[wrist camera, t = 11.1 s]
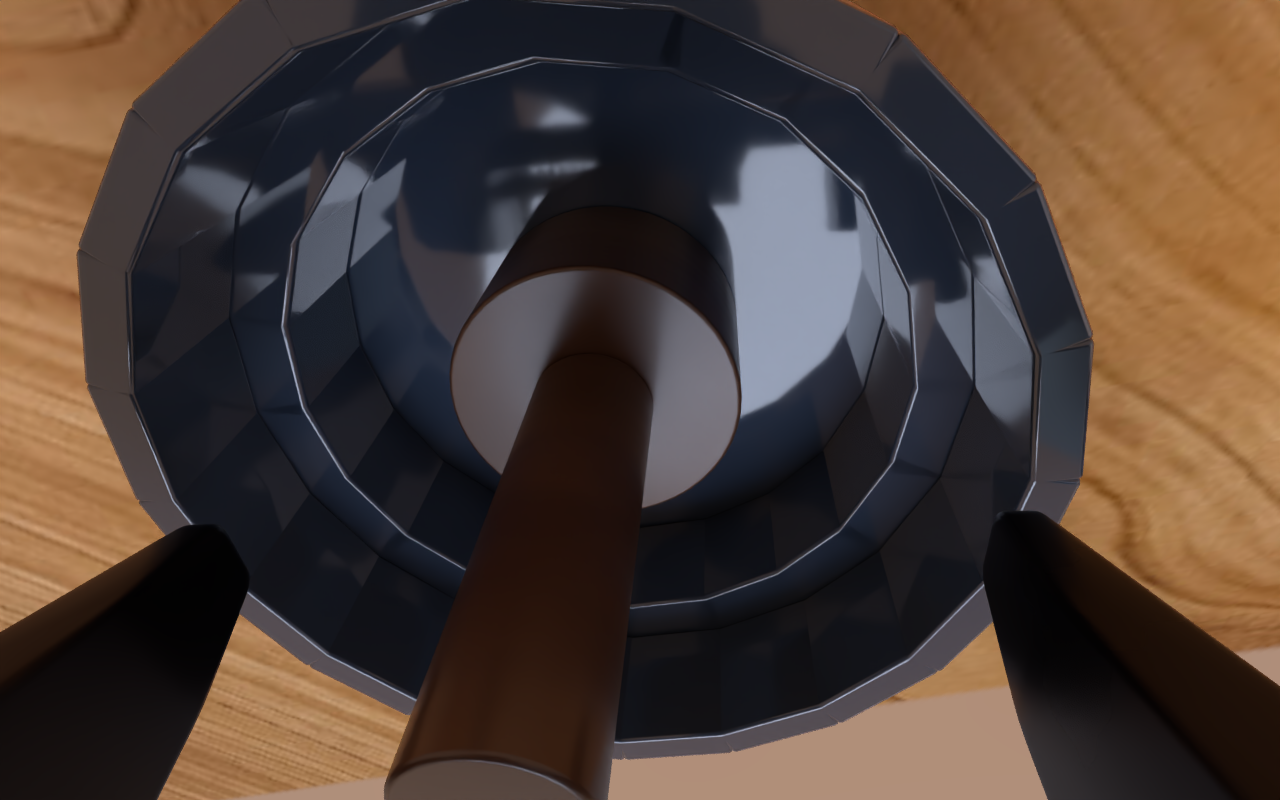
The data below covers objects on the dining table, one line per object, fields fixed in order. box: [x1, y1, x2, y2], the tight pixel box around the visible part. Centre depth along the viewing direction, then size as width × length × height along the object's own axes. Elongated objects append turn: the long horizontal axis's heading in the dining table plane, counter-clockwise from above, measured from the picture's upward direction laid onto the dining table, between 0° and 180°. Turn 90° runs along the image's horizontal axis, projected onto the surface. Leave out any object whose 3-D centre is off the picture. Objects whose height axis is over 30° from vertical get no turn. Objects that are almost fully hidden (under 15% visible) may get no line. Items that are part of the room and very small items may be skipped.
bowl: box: [77, 0, 1094, 760], centre depth 11 cm, size 12×12×5 cm
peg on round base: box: [384, 207, 742, 800], centre depth 9 cm, size 4×4×8 cm
